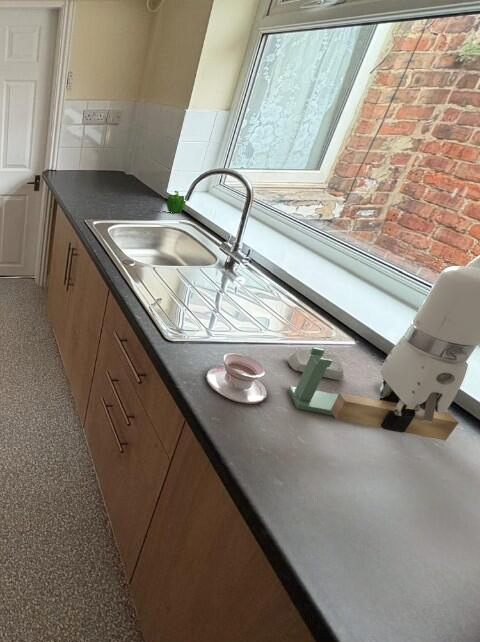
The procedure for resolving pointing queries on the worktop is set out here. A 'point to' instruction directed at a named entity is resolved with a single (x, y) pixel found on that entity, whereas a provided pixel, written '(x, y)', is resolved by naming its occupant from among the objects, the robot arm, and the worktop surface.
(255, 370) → the teacup
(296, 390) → the hanger stand
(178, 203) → the bell pepper
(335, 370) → the grey stone block
